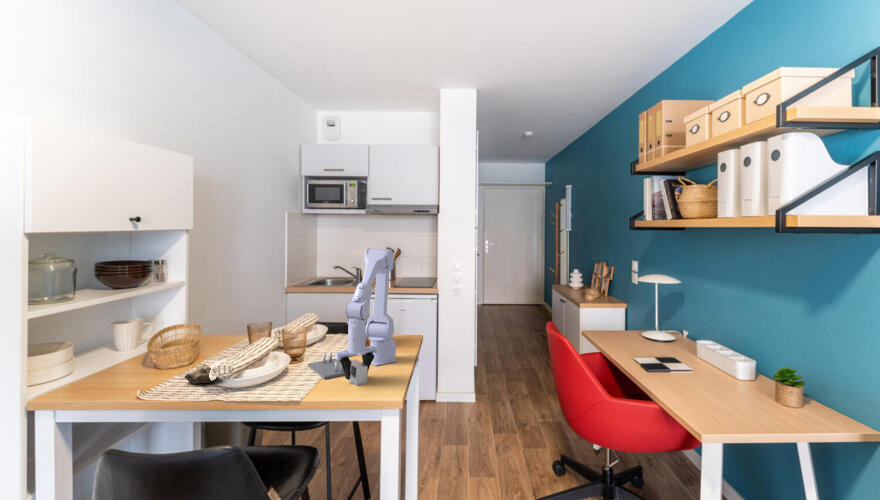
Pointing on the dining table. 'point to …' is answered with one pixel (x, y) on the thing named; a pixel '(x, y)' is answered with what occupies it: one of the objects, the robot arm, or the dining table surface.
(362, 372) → the grey block
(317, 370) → the pin tray
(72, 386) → the dining table surface
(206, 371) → the fossilized seashell
